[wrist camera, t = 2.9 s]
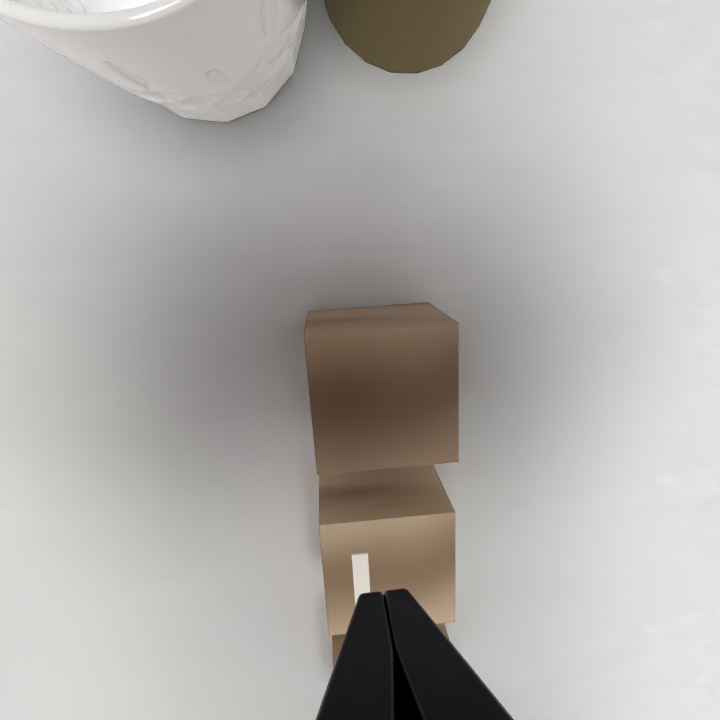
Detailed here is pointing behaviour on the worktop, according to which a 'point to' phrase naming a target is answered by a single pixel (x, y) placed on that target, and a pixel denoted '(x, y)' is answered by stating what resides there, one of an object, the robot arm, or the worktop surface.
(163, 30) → the white cup
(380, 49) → the cork
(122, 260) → the worktop surface
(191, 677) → the worktop surface
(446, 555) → the tan marked cube block
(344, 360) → the plain block
